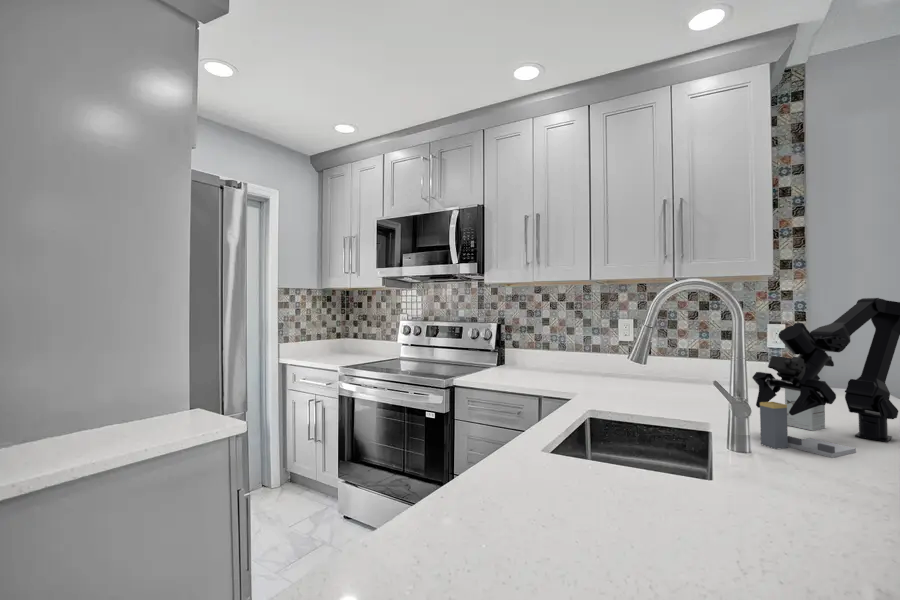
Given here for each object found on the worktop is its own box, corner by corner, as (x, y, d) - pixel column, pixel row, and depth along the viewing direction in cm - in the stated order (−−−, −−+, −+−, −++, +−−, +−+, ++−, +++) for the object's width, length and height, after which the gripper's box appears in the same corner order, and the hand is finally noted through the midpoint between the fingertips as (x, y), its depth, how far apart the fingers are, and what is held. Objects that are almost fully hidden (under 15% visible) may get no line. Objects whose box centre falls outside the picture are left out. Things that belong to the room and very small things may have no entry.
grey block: (773, 443, 116) (772, 401, 116) (788, 447, 112) (786, 404, 112) (760, 444, 115) (759, 402, 116) (775, 449, 111) (773, 405, 112)
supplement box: (784, 425, 134) (783, 384, 135) (798, 422, 137) (797, 382, 138) (812, 431, 128) (811, 387, 128) (826, 428, 131) (825, 385, 131)
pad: (809, 441, 117) (809, 432, 117) (855, 452, 108) (855, 442, 108) (786, 446, 113) (786, 436, 114) (832, 457, 104) (832, 447, 104)
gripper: (757, 343, 125) (724, 383, 122) (825, 348, 106) (789, 395, 104) (780, 370, 126) (749, 410, 123) (852, 380, 108) (817, 427, 105)
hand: (773, 410), depth 114 cm, fingers open, 9 cm apart
